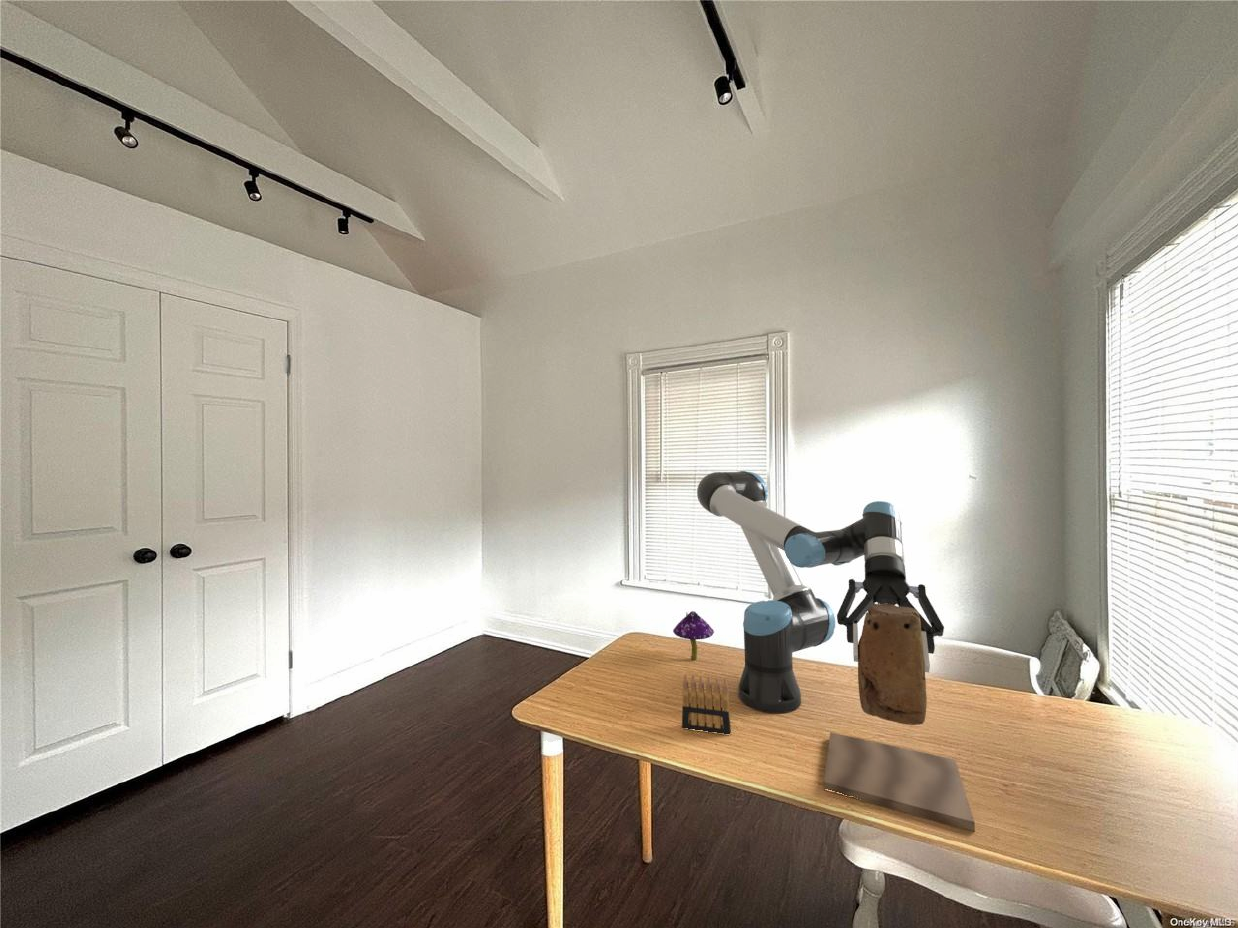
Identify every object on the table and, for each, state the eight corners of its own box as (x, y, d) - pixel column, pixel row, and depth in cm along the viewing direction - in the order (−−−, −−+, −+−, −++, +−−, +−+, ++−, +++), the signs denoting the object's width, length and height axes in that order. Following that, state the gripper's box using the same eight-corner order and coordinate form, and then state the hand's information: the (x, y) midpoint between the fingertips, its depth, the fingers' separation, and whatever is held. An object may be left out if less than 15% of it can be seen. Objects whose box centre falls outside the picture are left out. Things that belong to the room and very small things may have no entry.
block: (923, 712, 88) (919, 605, 89) (929, 732, 82) (924, 616, 82) (858, 700, 93) (855, 599, 94) (859, 718, 86) (855, 609, 87)
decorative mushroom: (670, 653, 150) (669, 606, 150) (708, 651, 151) (707, 604, 151) (677, 669, 137) (676, 618, 137) (719, 667, 138) (718, 616, 138)
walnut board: (823, 790, 85) (823, 781, 85) (830, 738, 100) (830, 731, 100) (974, 831, 74) (974, 821, 74) (955, 767, 90) (955, 759, 90)
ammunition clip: (681, 728, 106) (680, 675, 106) (683, 724, 107) (682, 672, 108) (730, 735, 103) (729, 680, 103) (730, 731, 104) (729, 676, 105)
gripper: (948, 577, 97) (965, 683, 83) (826, 569, 108) (823, 662, 94) (951, 556, 93) (970, 664, 79) (824, 550, 104) (820, 644, 89)
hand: (890, 663), depth 86 cm, fingers closed on block, 11 cm apart
